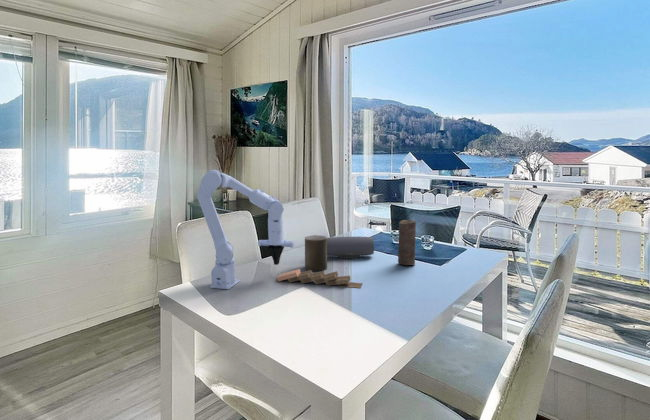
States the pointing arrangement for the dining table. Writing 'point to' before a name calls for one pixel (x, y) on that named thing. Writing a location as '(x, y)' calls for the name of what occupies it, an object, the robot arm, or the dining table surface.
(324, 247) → the pillar candle
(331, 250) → the bluetooth speaker
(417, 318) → the dining table surface
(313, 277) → the domino
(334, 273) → the domino
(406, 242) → the brown wooden cylinder
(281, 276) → the domino
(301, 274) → the domino
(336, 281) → the domino
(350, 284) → the domino
